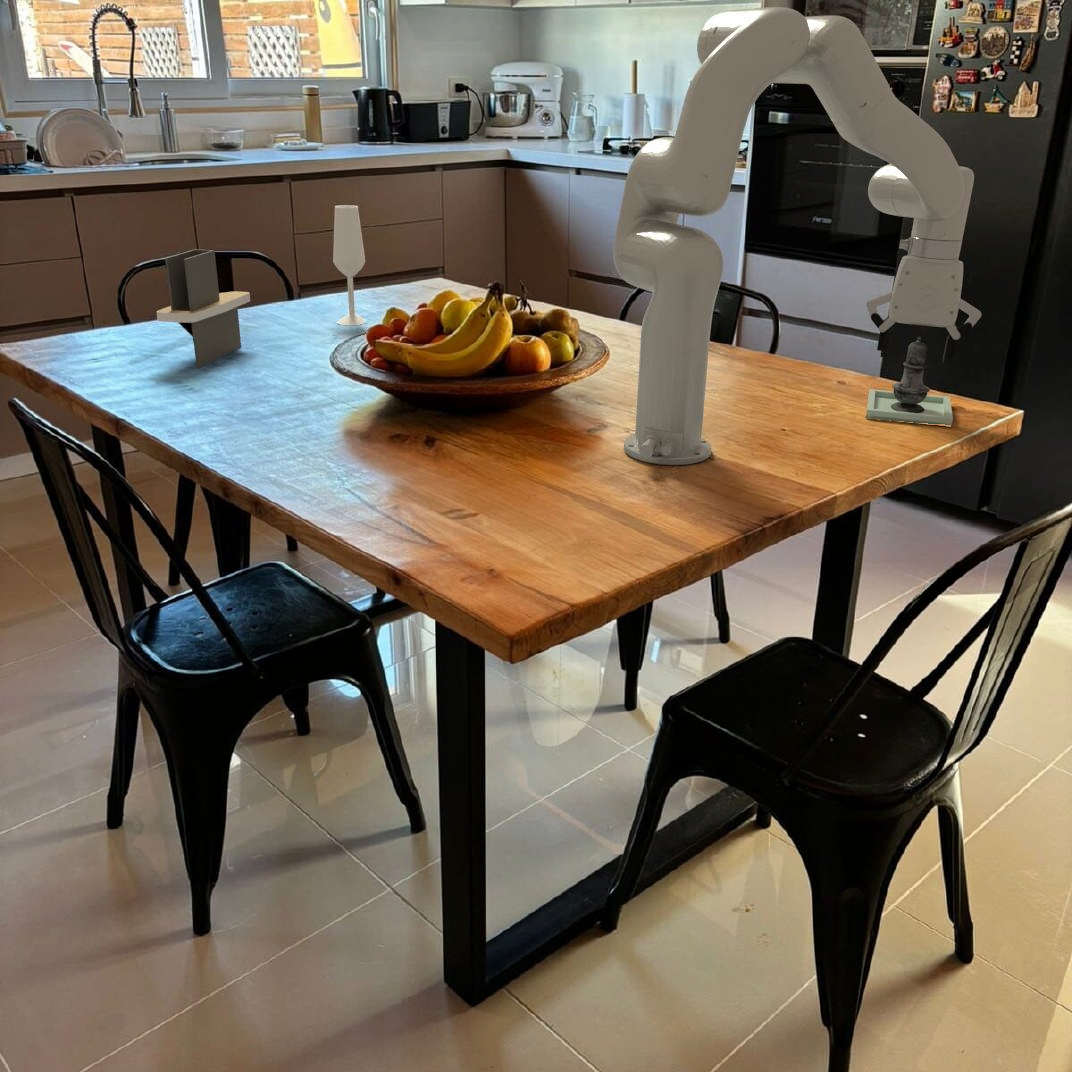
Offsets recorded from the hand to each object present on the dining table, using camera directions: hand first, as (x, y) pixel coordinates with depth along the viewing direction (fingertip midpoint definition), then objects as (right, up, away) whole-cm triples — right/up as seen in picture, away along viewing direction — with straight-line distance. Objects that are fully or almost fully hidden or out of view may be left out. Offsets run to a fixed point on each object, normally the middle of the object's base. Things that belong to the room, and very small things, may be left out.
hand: (913, 358), depth 169 cm
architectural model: (-122, +5, +29) cm, 126 cm away
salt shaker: (0, -8, +4) cm, 9 cm away
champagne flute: (-101, +18, +58) cm, 117 cm away
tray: (0, -8, +4) cm, 9 cm away
